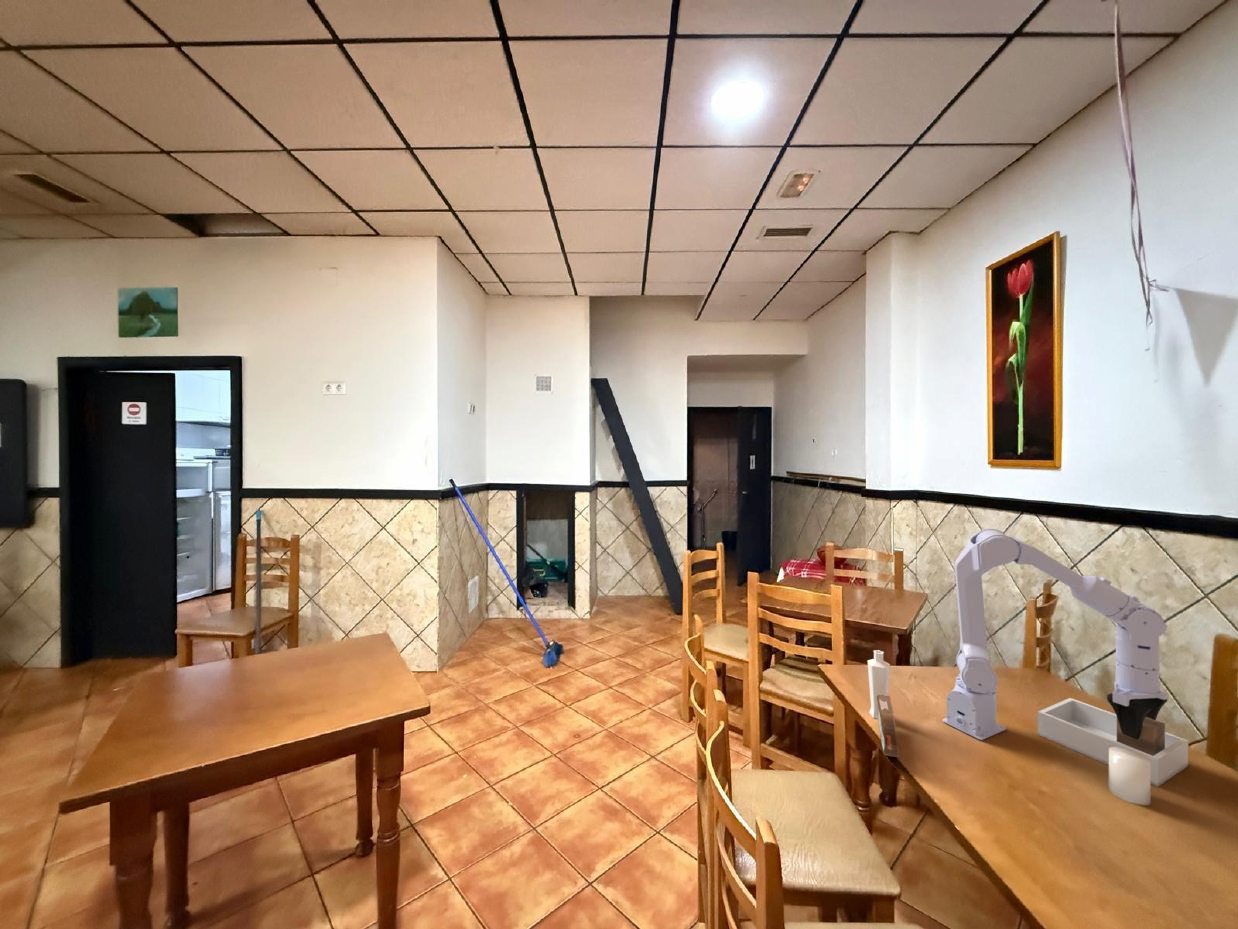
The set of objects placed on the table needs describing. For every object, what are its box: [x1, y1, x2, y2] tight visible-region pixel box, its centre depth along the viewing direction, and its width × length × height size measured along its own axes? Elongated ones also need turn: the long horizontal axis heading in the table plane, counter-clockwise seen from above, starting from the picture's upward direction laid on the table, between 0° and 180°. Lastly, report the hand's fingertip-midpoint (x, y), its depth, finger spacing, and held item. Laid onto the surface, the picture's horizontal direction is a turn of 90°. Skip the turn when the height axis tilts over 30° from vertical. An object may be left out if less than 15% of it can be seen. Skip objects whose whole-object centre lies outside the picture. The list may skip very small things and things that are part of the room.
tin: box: [877, 695, 900, 759], centre depth 97 cm, size 15×3×8 cm, turn 155°
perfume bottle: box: [867, 649, 891, 720], centre depth 108 cm, size 5×4×15 cm
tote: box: [1037, 697, 1189, 788], centre depth 95 cm, size 14×18×5 cm
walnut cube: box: [1117, 717, 1166, 756], centre depth 90 cm, size 5×5×5 cm
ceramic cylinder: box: [1108, 747, 1152, 806], centre depth 82 cm, size 5×5×7 cm
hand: (1136, 732), depth 91 cm, fingers closed on walnut cube, 5 cm apart
